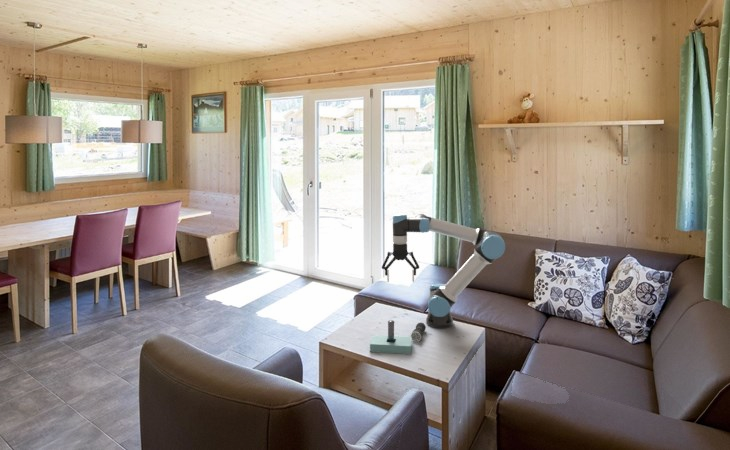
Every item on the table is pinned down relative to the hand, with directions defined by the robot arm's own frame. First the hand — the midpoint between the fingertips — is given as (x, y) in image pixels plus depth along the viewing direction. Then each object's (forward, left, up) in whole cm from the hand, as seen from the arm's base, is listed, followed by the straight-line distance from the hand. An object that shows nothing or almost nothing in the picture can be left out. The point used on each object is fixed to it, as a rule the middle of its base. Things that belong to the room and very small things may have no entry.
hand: (400, 281), depth 241 cm
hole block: (+3, +24, -28) cm, 37 cm away
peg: (+3, +24, -28) cm, 37 cm away
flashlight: (-10, +8, -28) cm, 31 cm away
